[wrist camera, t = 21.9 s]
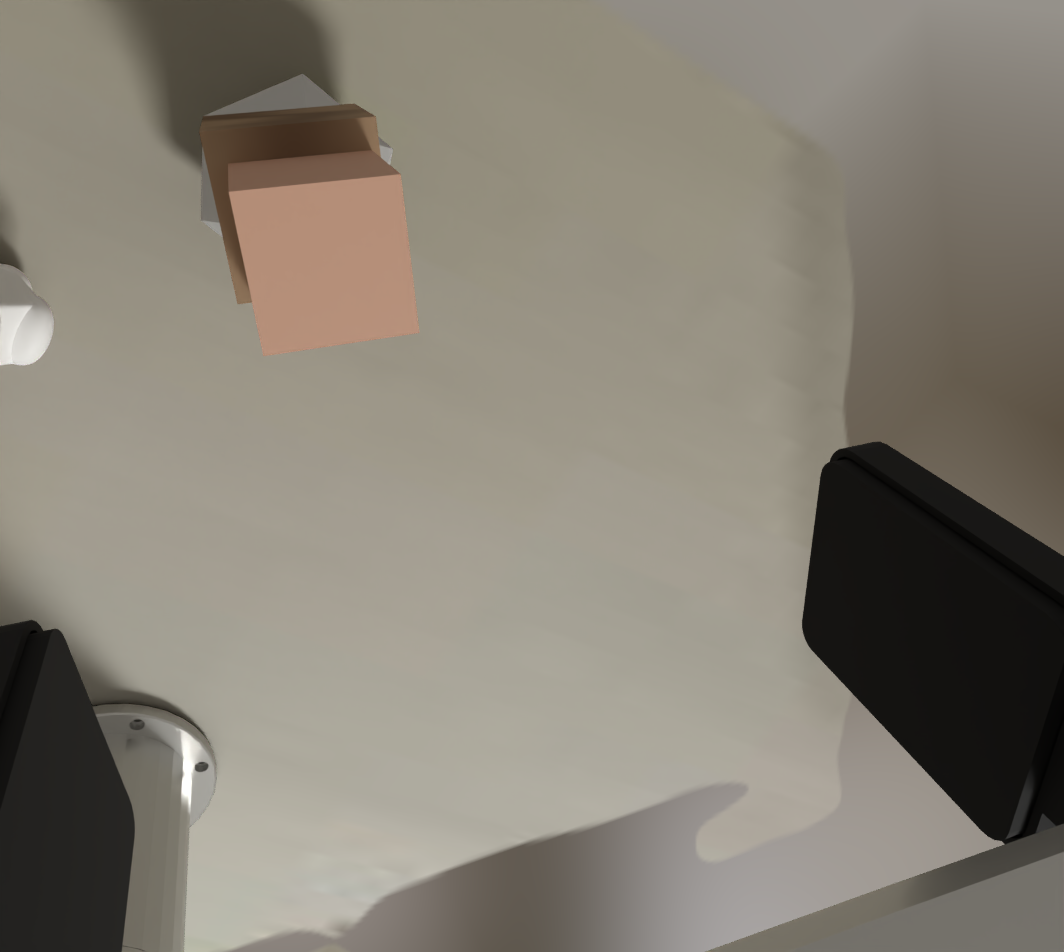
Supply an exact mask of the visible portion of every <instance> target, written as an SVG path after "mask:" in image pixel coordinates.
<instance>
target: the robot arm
mask: <svg viewBox="0 0 1064 952" xmlns="http://www.w3.org/2000/svg"><path fill="white" fill-rule="evenodd" d="M802 629H803V634H804V637H805V640H806V642H807V644H808V646H809V647H810V648H811V650H812V651H813V652H814V653H815V654H816V655H817V656H818V657H819V658H820V659H821V660H822V662H823V663H824V664H825V665H826V666H827V667H828V668H829V669H830V670H831V671H832V672H833V673H834V674H835V675H836V676H837V677H838V679H839V680H840V681H841V682H842V683H843V684H844V685H845V686H846V687H847V688H848V689H849V690H850V691H851V692H852V693H853V695H854V696H855V697H856V698H857V699H858V700H859V701H860V702H861V703H862V704H863V705H864V706H865V707H866V708H867V709H868V710H869V712H870V713H871V714H872V715H873V716H874V717H875V718H876V719H877V720H878V721H879V722H880V723H881V724H882V725H883V726H884V727H885V729H886V730H887V731H888V732H889V733H890V734H891V735H892V736H893V737H894V738H895V739H896V740H897V741H898V742H899V743H900V745H901V746H902V747H903V748H904V749H905V750H906V751H907V752H908V753H909V754H910V755H911V756H912V757H913V758H914V759H915V760H916V761H917V763H918V764H919V765H920V766H922V768H923V769H924V770H925V771H926V772H927V773H928V774H929V775H930V776H931V777H932V779H934V781H935V782H936V783H937V784H938V785H939V786H940V787H941V788H942V789H943V790H944V791H945V792H946V793H947V795H948V796H949V797H951V799H952V800H953V801H954V802H955V803H956V804H957V805H958V806H959V807H960V808H961V809H962V810H963V811H964V813H965V814H966V815H967V816H968V817H969V818H970V819H971V820H972V821H973V822H974V823H975V824H976V825H977V826H978V827H979V829H980V830H981V831H982V832H984V833H985V834H986V835H987V836H988V837H990V838H992V839H994V840H999V841H1002V842H1003V843H1004V844H1005V845H1002V846H999V847H996V848H994V849H991V850H988V851H985V852H982V853H980V854H977V855H974V856H971V857H968V858H965V859H963V860H960V861H957V862H954V863H951V864H949V865H946V866H943V867H940V868H937V869H934V870H932V871H929V872H926V873H923V874H920V875H917V876H915V877H912V878H909V879H906V880H903V881H901V882H898V883H895V884H892V885H889V886H886V887H884V888H881V889H878V890H876V891H873V892H870V893H867V894H864V895H861V896H859V897H856V898H853V899H850V900H848V901H845V902H842V903H839V904H837V905H834V906H831V907H828V908H826V909H823V910H820V911H817V912H814V913H812V914H809V915H806V916H803V917H800V918H798V919H795V920H792V921H789V922H787V923H784V924H781V925H778V926H775V927H773V928H770V929H767V930H764V931H762V932H759V933H756V934H753V935H750V936H748V937H745V938H742V939H739V940H737V941H734V942H731V943H729V944H725V945H723V946H720V947H717V948H714V949H712V950H709V951H706V952H1064V556H1062V555H1060V554H1059V553H1058V552H1056V551H1054V550H1053V549H1051V548H1050V547H1048V546H1046V545H1045V544H1043V543H1042V542H1040V541H1038V540H1037V539H1035V538H1034V537H1032V536H1030V535H1029V534H1027V533H1026V532H1024V531H1023V530H1021V529H1019V528H1018V527H1016V526H1015V525H1013V524H1012V523H1010V522H1008V521H1007V520H1005V519H1004V518H1002V517H1000V516H999V515H997V514H996V513H994V512H993V511H991V510H989V509H988V508H986V507H985V506H983V505H982V504H980V503H978V502H977V501H975V500H974V499H972V498H970V497H969V496H967V495H966V494H964V493H963V492H961V491H959V490H958V489H956V488H955V487H953V486H952V485H950V484H948V483H947V482H945V481H943V480H942V479H940V478H939V477H937V476H936V475H934V474H932V473H931V472H929V471H928V470H926V469H925V468H923V467H921V466H920V465H918V464H917V463H915V462H914V461H912V460H910V459H909V458H907V457H905V456H904V455H902V454H901V453H899V452H898V451H896V450H895V449H893V448H891V447H890V446H888V445H887V444H884V443H882V442H872V443H867V444H863V445H857V446H852V447H848V448H843V449H839V450H838V451H836V452H834V454H833V456H832V457H831V459H830V462H829V463H827V464H826V465H825V466H824V467H823V469H822V472H821V477H820V485H819V493H818V501H817V509H816V517H815V525H814V532H813V540H812V548H811V556H810V564H809V572H808V580H807V588H806V596H805V603H804V611H803V619H802ZM216 779H217V777H216V760H215V756H214V752H213V750H212V748H211V746H210V744H209V742H208V741H207V739H206V738H205V737H204V736H203V735H202V733H201V732H200V731H199V730H198V729H197V728H196V727H194V726H193V725H192V724H190V723H189V722H187V721H186V720H184V719H183V718H181V717H179V716H176V715H174V714H172V713H170V712H167V711H164V710H161V709H157V708H153V707H149V706H142V705H133V704H105V705H99V706H93V707H92V705H91V702H90V700H89V697H88V695H87V692H86V690H85V687H84V685H83V682H82V680H81V677H80V675H79V672H78V670H77V667H76V665H75V663H74V660H73V658H72V655H71V653H70V650H69V648H68V645H67V643H66V640H65V638H64V636H63V634H62V633H61V632H60V631H59V630H58V629H52V630H47V631H43V630H42V628H41V626H40V625H39V624H38V623H37V622H36V621H33V620H29V621H24V622H20V623H15V624H10V625H5V626H1V627H0V952H184V937H185V915H186V893H187V871H188V849H189V828H190V827H191V826H192V825H193V824H194V823H195V822H196V821H197V820H198V819H199V818H200V817H201V816H202V814H203V813H204V812H205V810H206V809H207V807H208V806H209V804H210V802H211V799H212V797H213V795H214V792H215V785H216Z"/></svg>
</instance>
